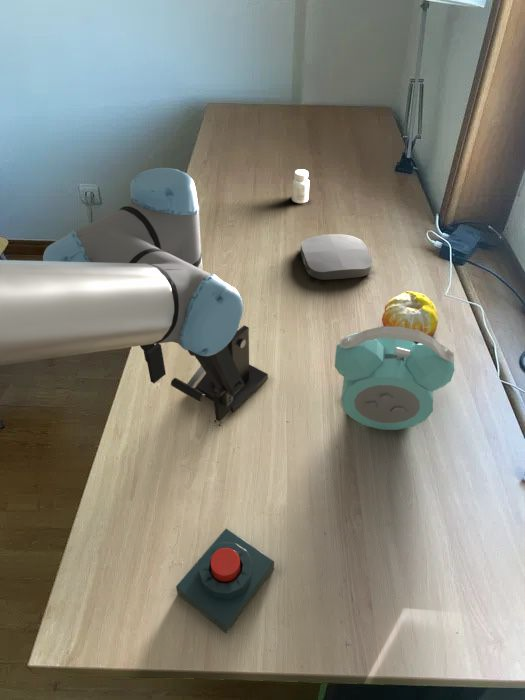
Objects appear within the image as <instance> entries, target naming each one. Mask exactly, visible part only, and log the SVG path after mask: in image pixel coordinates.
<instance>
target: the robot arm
mask: <svg viewBox="0 0 525 700" xmlns="http://www.w3.org/2000/svg"><path fill="white" fill-rule="evenodd" d="M129 190H130V194H129V197H130V200H131V202H129V203H128V204H126V205H124V206H122V207H121V208H120V209H117V210H116V211H113V212H111V213H109V214H107V215H105V216H102V217H100V218H98V219H96V220H94V221H92V222H90V223H88V224H86V225H83V226H81V227H79V228H77V229H75V230H71V231H69V233H68V234H66V235H65V236H63V237H61V238H59V239H58V240H56V241H54V242H52V243H50V244H49V245H48V246H47V247H46V248H45V249H44V252H43V256H42V260H17V259H16V260H15V259H13V260H12V259H9V260H8V259H0V366H9V365H14V364H22V363H29V362H35V361H43V360H49V359H57V358H63V357H70V356H77V355H85V354H91V353H99V352H105V351H112V350H120V349H128V348H134V347H140V348H141V349H142V351H143V356H144V360H145V362H146V365H147V369H148V374H149V379H150V382H151V383H152V384H156V383H157V382H158V381H159V380H160V379H162V378H163V377H164V376H165V375H166V367H165V361H164V354H163V347H162V344H166V343H175V344H178V345H179V346H180V347H181V348H182V349H183V350H185V351H187V352H188V354H189V355H190V356H192V357H195V358H196V360H197V361H198V363H199V364H200V366H202V367H203V369H204V370H205V372H206V373H207V375H208V376H209V378H210V379H211V381H212V382H213V384H214V385H215V387H216V388H215V389H214V390H213V395H214V401H213V407H214V418H215V421H217V422H218V423H220V422H221V421H222V420H224V418H225V417H226V416H227V415H228V414H229V413H231V411H230V403H231V402H232V401H233V396H234V395H235V394H236V393H237V392H238V391H239V390H240V389H241V388H242V387H243V386H244V382H243V380H242V378H241V376H240V374H239V371H238V369H237V367H236V365H235V363H234V360H233V358H232V356H231V354H230V352H229V350H228V347H227V345H228V344H229V342H230V341H231V340H232V338H233V337H234V335H235V334H236V332H237V330H239V329H240V323H241V320H242V318H243V313H244V306H243V305H244V303H243V299H242V296H241V294H240V293H239V291H238V290H237V289H236V288H235V287H234V286H232V285H231V284H229V283H227V282H225V281H224V280H223V279H221V278H219V276H217V275H216V274H215V273H210V272H207V271H206V270H204V268H203V267H204V266H203V257H202V241H201V229H200V228H201V227H200V226H201V225H200V207H199V202H198V195H197V190H196V185H195V182H194V180H193V178H192V177H191V176H190V174H188V173H186V172H185V171H182V170H179V169H176V168H172V167H171V168H170V167H155V168H150V169H146V170H144V171H141V172H139V173H138V174H137V175H135V177H134V178H133V179H132V180H131V182H130V184H129Z"/></svg>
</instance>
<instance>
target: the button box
mask: <svg viewBox="0 0 525 700" xmlns="http://www.w3.org/2000/svg"><path fill="white" fill-rule="evenodd" d="M222 548H230V549H232V550H234V551H235V552H236V553H237V554H238V556H239V558H240V572H239V574H238V576H237V577H236V578H235V579H234V580H232V581H229V582H221V581H218V580H217V579H215V577H214V576H213V574H212V572H211V558H212V556H213V554H214V553H215V552H216V551H217V550H219V549H222ZM274 570H275V560H274V559H272V558H271V557H269V555H266V554H264V552H262V551H260V550H259V549H258V548H256V547H255V546H253V545H252V544H250V543H249V542H247V541H246V540H244V539H243V538H242V537H240V536H238V535H237V534H236V533H234V532H233V531H232V530H230V529H228V528H227V527H226V528H224V530H223V531H222V533H221V534H219V536H218V537H217V538H216V539H215V541H213V543H212V544H211V545H210V546H209V548H207V550H206V551H205V552H204V553H203V554H202V556H201V557H200V558H199V559H198V560H197V562H195V564H194V565H193V566H192V567H191V568H190V569H189V571H188V572H187V573H186V574H185V575H184V577H182V579H181V580H180V581H179V582H178V584H177V585H176V586H175V588H176V594H177V596H178V597H180V598H182V599H183V600H184V601H185V602H186V603H188V604H189V605H190V606H192V608H194V610H196V611H198V612H199V613H200V614H202V615H203V616H204V617H205V618H206V619H208V620H209V621H210V622H212V623H213V624H214V625H215V626H217V627H218V628H219V629H220V630H222V631H223V632H225V634H227V633H229V631H230V630H231V628H232V626H233V625H234V624H235V623H236V621H237V620H238V619H239V617H240V616H241V615H242V613H243V612H244V611H245V609H246V608H247V607H248V605H249V604H250V602H251V601H252V600H253V598H255V596H256V594H257V593H258V592H259V590H260V589H261V588H262V586H263V585H264V584H265V582H266V581H267V580H268V578H269V577H270V576H271V574H272V573H273V572H274Z"/></svg>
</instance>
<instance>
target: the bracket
mask: <svg viewBox="0 0 525 700" xmlns="http://www.w3.org/2000/svg"><path fill="white" fill-rule="evenodd" d="M227 346H228V350H229V352H230V354H231V356H232V358H233V360H234V363H235V365H236V367H237V369H238V371H239V374H240V376H241V378H242V380H243V382H244V386H243V387H242V388H241V389H240V390H239V391H238V392H237V393H236V394H235V395H234V396H233V401H232V402H231V403H230V413H235V411H236V410H237V409H239V407H241V405H243V404H244V403H245V402H246V401H247V400H248V399H250V397H251V396H252V395H253V394H254V393H255V392H256V391H257V390H258V389H259V388H260V387H261V386H262V385H263V384H264V383H265V382H266V381H267V380H268V379H269V373H267V372H265V371H263V370H261V369H259V368H258V367H255V366H253V365H251V364H250V328H249V326H247V325H244V324H243V325H242V326H241V327H239V328H238V331H237V332H236V334H235V335H234V337H233V338H232V340H231V341H230V342H229V344H228V345H227ZM215 388H216V387H215V385H214V384H213V382H212V381H211V379H210V378H209V376H208V375H207V373H206V374H205V376H204V377H203V378H202V380H201V381H200V382H199V384H198V385H197V386H196V388H195V389H197V390H198V391H200V392H202V393H204V394H205V398H207V399H208V400H210V401H212V402H214V395H213V390H214V389H215Z"/></svg>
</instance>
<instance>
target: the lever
mask: <svg viewBox="0 0 525 700" xmlns="http://www.w3.org/2000/svg"><path fill="white" fill-rule="evenodd" d="M238 330H239V329H238ZM238 330H237V331H238ZM227 347H228V346H227ZM205 374H206V372H205V370H204V369H203V367H202V366H201V365H200V366H199V368H198V369H197V370H196V371H195V373H194V374H193V375H192V376H191V378H190V379H189V381H188V382H185V381H183V380H181V379H179V378H178V377H174V378H172V379H171V381H170V385H171V387H173V388H175V389H176V390H178V391H180V392H181V393H183V394H185V395H187V396H188V397H189V398H192V399H193V400H195V401H197V402H198V403H203V402H204V401H205V400H206V397H205V394H204V393H202V392H200V391H198V390H197V389H195V388H196V386H197V385H198V384H199V382H200V381H201V380H202V378H203V377H204V376H205Z"/></svg>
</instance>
